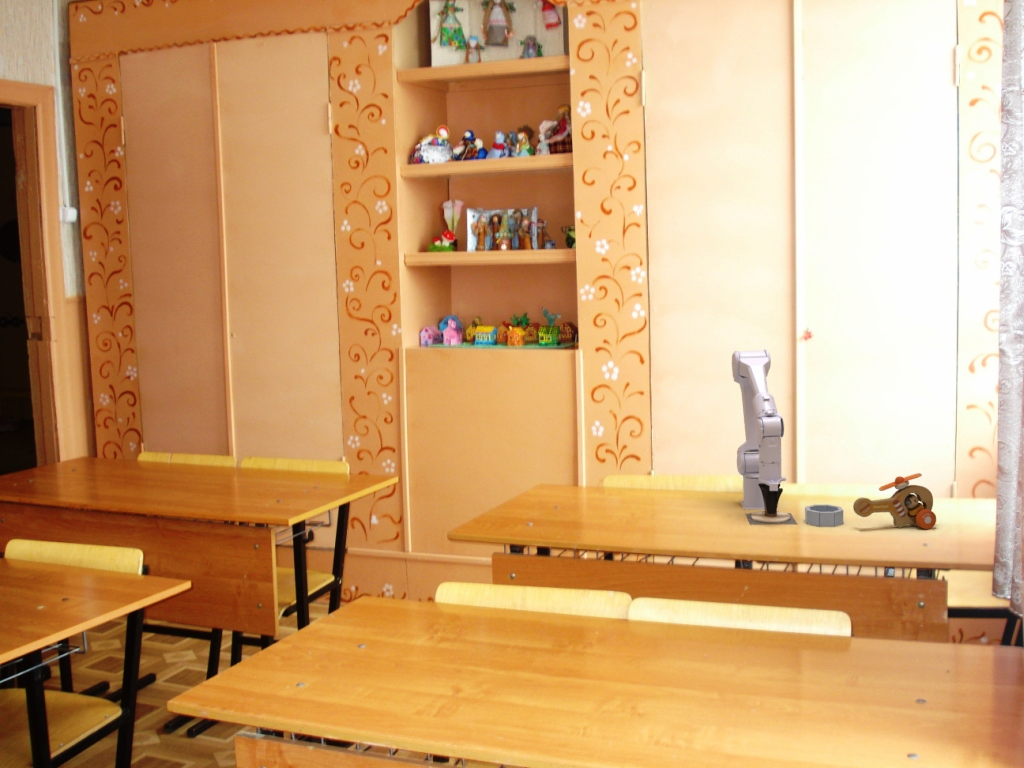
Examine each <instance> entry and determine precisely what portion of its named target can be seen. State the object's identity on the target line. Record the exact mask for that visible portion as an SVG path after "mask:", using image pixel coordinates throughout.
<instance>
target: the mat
mask: <svg viewBox="0 0 1024 768" xmlns="http://www.w3.org/2000/svg"><path fill="white" fill-rule="evenodd" d="M753 513H754V512H751V513H750V512H749V513H745V517H746V518H747V521H748V524H749V525H751V526H752V525H754V526H755V525H756V526H757V525H761V526H762V525H765V526H766V525H778V526H779V525H798V523H797V521H796V519H795V518H794V515H792V513H791V512H786V513H787V514H789V515H790V520H789V521H787V522H781V523H764V522H758V521H755V520H753V519H752V518H751V514H753Z"/></svg>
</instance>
